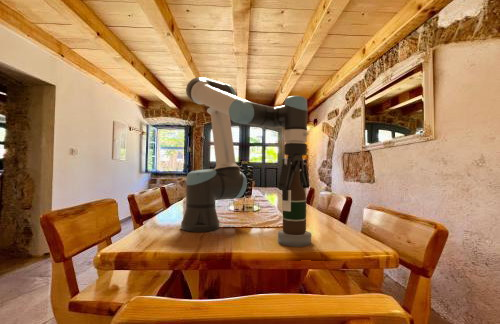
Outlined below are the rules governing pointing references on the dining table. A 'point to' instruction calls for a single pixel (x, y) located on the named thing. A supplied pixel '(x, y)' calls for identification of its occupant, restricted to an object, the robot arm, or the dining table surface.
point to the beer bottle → (296, 208)
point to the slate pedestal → (294, 239)
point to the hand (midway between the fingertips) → (294, 208)
